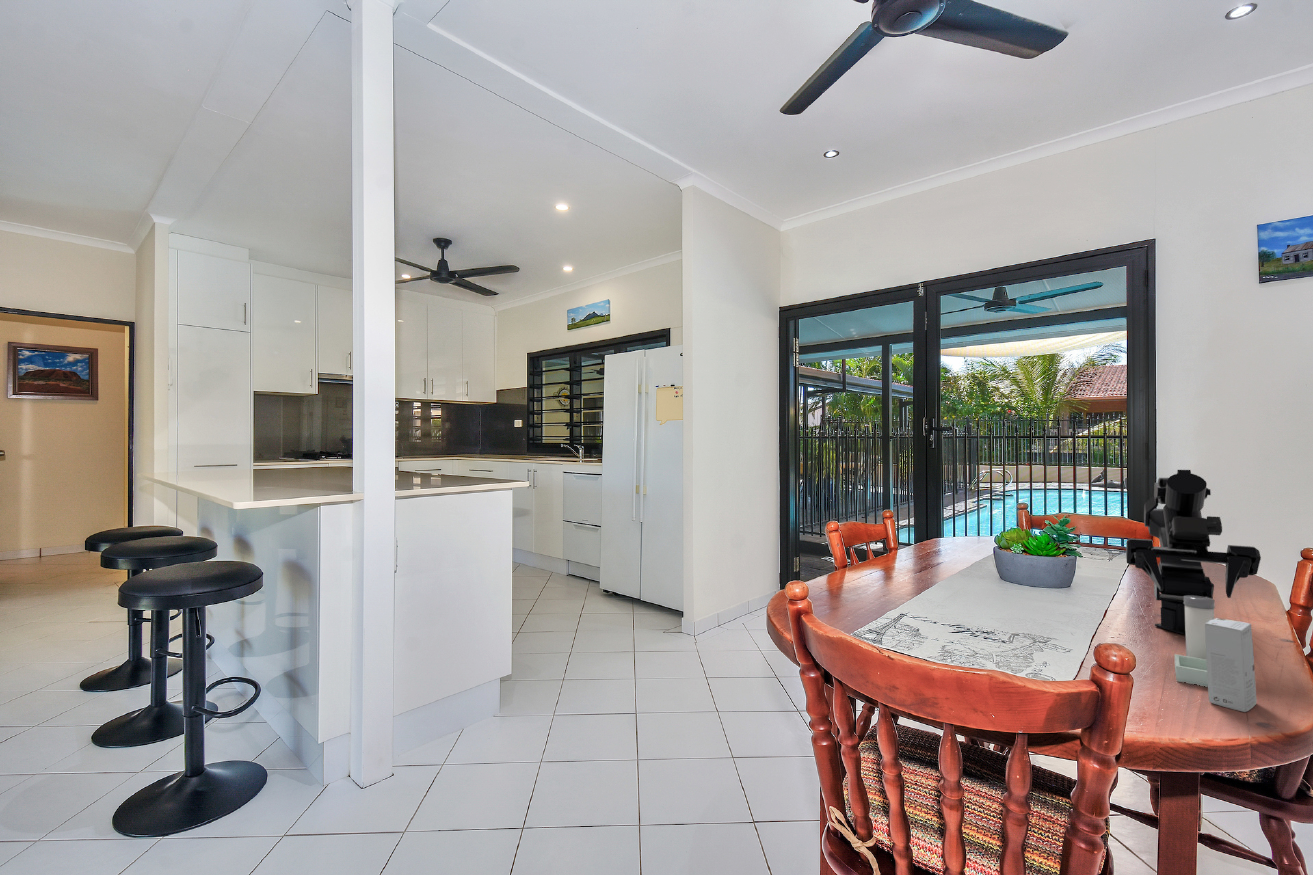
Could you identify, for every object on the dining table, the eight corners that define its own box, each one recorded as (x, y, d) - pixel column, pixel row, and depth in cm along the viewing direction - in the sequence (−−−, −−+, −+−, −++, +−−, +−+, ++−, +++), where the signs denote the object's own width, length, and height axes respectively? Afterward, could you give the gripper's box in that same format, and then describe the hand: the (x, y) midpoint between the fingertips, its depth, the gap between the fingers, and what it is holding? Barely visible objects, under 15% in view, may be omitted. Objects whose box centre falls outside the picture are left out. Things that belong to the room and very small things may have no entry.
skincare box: (1247, 713, 82) (1244, 630, 83) (1205, 702, 86) (1203, 623, 87) (1257, 702, 86) (1255, 623, 86) (1217, 692, 90) (1214, 616, 90)
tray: (1174, 668, 100) (1174, 654, 100) (1232, 678, 95) (1232, 663, 95) (1176, 680, 94) (1175, 665, 94) (1238, 692, 89) (1237, 677, 89)
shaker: (1198, 660, 103) (1196, 594, 103) (1223, 668, 99) (1220, 600, 99) (1179, 661, 103) (1177, 595, 103) (1203, 670, 99) (1201, 601, 99)
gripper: (1125, 498, 115) (1130, 561, 106) (1256, 503, 104) (1274, 573, 95) (1124, 532, 121) (1129, 594, 112) (1247, 540, 110) (1264, 610, 101)
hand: (1194, 592), depth 105 cm, fingers open, 9 cm apart
